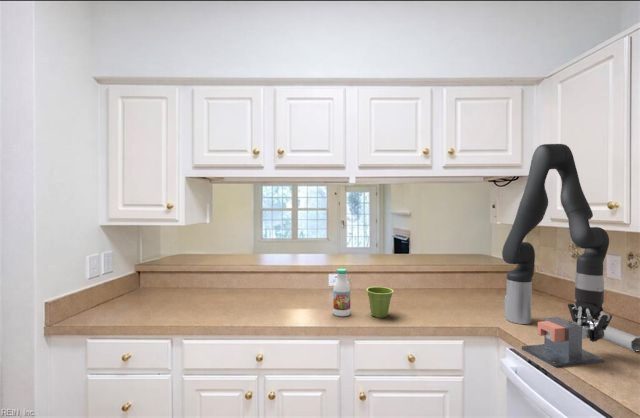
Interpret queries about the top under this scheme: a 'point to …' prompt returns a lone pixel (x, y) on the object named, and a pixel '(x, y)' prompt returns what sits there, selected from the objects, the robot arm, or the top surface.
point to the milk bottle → (341, 294)
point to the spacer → (551, 331)
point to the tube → (621, 338)
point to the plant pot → (379, 300)
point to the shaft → (583, 332)
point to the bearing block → (563, 347)
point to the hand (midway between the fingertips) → (588, 338)
